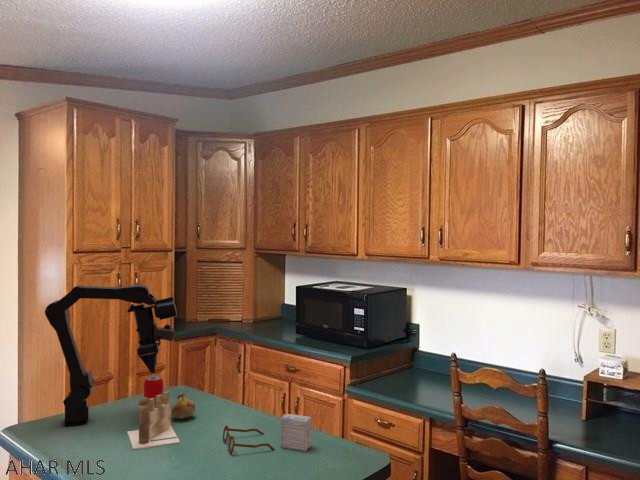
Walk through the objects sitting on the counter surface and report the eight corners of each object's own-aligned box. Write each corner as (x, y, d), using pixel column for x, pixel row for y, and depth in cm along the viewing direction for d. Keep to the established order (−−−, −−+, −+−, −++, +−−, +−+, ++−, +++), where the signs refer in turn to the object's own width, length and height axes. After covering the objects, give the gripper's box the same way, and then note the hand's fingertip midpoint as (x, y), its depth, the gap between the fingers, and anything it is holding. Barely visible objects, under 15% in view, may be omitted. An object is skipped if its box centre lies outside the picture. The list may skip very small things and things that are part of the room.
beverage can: (165, 410, 188) (166, 375, 188) (158, 416, 182) (159, 380, 182) (148, 409, 189) (148, 374, 189) (140, 415, 183) (141, 379, 182)
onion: (165, 420, 178) (165, 396, 178) (180, 413, 186) (181, 389, 186) (185, 424, 176) (185, 399, 175) (199, 416, 183) (200, 392, 183)
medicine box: (311, 446, 160) (311, 416, 160) (305, 452, 156) (306, 421, 155) (286, 442, 162) (286, 413, 162) (280, 447, 158) (280, 417, 158)
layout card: (133, 449, 154) (133, 448, 154) (127, 432, 167) (127, 431, 167) (179, 443, 160) (179, 441, 160) (171, 426, 173) (171, 425, 173)
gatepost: (139, 446, 157) (139, 399, 157) (137, 442, 160) (138, 396, 160) (149, 444, 158) (150, 397, 158) (148, 440, 161) (149, 395, 161)
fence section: (149, 438, 161) (150, 400, 160) (146, 437, 161) (146, 400, 161) (170, 426, 171) (171, 390, 170) (167, 425, 171) (167, 390, 171)
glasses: (221, 440, 164) (222, 423, 164) (264, 435, 169) (264, 419, 168) (230, 457, 152) (231, 439, 152) (276, 452, 156) (276, 434, 156)
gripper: (169, 322, 172) (178, 371, 173) (171, 313, 190) (179, 357, 191) (132, 330, 170) (142, 379, 171) (138, 320, 188) (146, 364, 189)
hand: (154, 369), depth 180 cm, fingers open, 9 cm apart
